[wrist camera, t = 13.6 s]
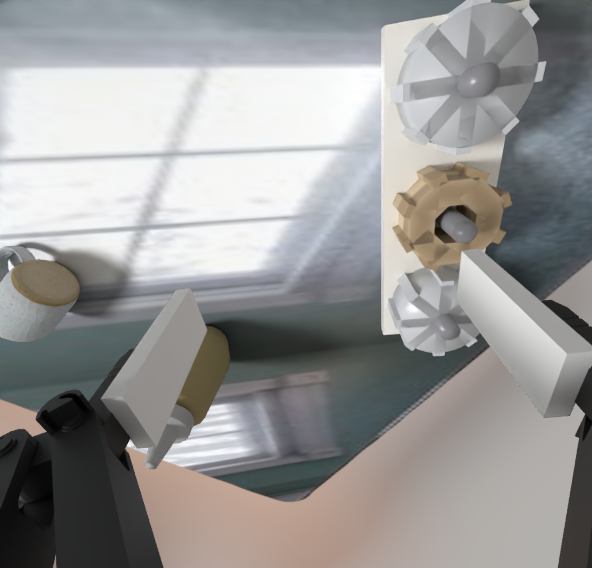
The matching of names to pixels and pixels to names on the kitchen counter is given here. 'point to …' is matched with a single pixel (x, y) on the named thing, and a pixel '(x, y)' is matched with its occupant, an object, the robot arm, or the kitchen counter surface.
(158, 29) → the kitchen counter surface
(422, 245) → the wooden gear
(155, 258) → the kitchen counter surface
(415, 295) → the gear board
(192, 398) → the squeeze bottle
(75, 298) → the ceramic mug
